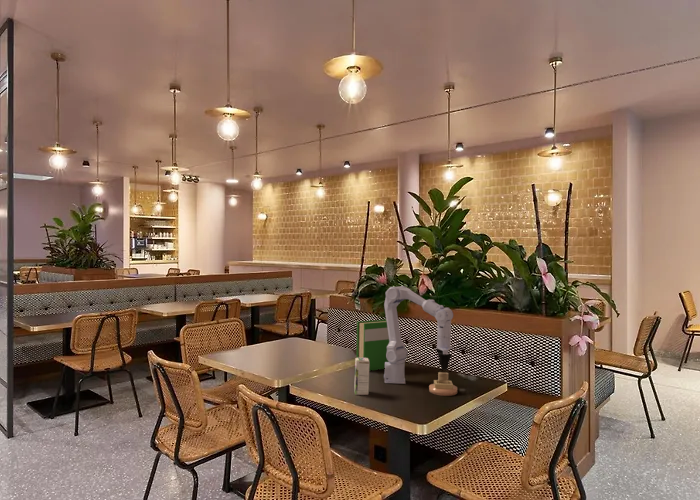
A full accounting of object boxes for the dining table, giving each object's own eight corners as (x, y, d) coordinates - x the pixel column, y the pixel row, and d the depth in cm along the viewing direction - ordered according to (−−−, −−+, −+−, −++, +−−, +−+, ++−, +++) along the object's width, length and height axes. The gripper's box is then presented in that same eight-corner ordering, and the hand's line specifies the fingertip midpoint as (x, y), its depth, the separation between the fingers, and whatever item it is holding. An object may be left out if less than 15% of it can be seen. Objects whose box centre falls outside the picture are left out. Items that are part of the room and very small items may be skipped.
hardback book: (364, 371, 238) (364, 323, 238) (356, 368, 244) (357, 321, 244) (392, 367, 247) (393, 321, 247) (384, 364, 253) (385, 319, 253)
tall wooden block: (438, 387, 205) (438, 373, 205) (438, 385, 207) (438, 372, 207) (448, 387, 205) (448, 374, 205) (447, 386, 207) (447, 372, 207)
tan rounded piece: (430, 395, 201) (430, 385, 201) (428, 387, 212) (428, 378, 212) (459, 396, 199) (459, 386, 199) (455, 388, 211) (455, 379, 211)
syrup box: (353, 391, 205) (354, 357, 205) (367, 390, 205) (368, 357, 205) (355, 395, 199) (355, 360, 199) (369, 395, 199) (369, 360, 199)
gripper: (455, 339, 198) (455, 372, 198) (451, 333, 213) (450, 363, 213) (438, 339, 199) (437, 371, 199) (435, 333, 214) (434, 363, 214)
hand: (443, 367), depth 206 cm, fingers open, 7 cm apart
